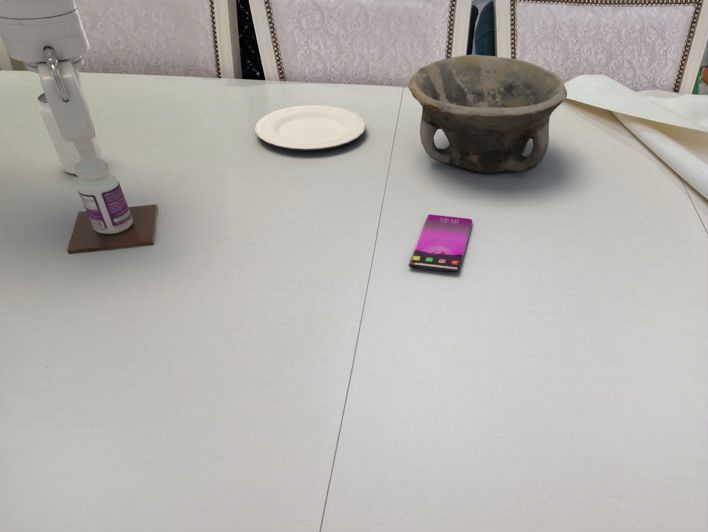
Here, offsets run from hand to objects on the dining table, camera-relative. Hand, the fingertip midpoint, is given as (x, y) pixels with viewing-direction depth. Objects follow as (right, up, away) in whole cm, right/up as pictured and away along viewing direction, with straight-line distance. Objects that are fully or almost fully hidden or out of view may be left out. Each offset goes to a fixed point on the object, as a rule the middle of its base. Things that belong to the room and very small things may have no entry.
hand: (86, 147), depth 83 cm
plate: (+21, +14, +36) cm, 45 cm away
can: (-14, +4, +22) cm, 26 cm away
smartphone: (+48, -12, +9) cm, 50 cm away
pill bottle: (-1, -9, +8) cm, 12 cm away
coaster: (-1, -10, +8) cm, 13 cm away
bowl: (+54, +7, +31) cm, 63 cm away
